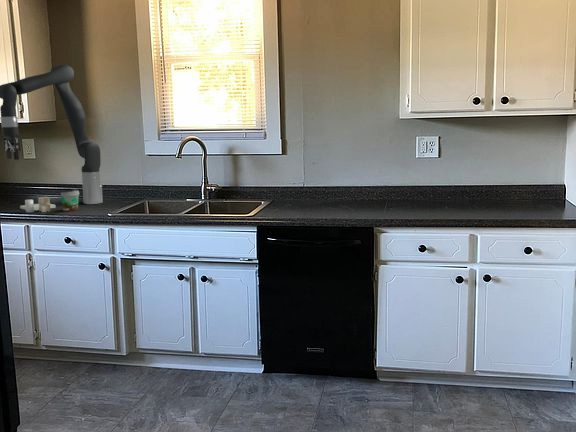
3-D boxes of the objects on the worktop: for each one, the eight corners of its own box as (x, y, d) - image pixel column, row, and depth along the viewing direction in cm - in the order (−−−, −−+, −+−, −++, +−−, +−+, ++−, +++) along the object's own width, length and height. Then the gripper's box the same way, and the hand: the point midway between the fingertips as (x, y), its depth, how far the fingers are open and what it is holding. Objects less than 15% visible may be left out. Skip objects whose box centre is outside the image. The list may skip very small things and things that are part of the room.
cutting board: (45, 205, 355) (45, 202, 355) (55, 207, 348) (55, 204, 347) (20, 208, 345) (20, 205, 345) (29, 210, 338) (29, 208, 337)
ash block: (46, 210, 339) (45, 196, 338) (50, 211, 337) (49, 197, 336) (39, 211, 337) (38, 197, 335) (42, 212, 334) (41, 198, 333)
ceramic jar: (31, 210, 338) (31, 199, 337) (35, 211, 335) (34, 200, 334) (24, 211, 335) (23, 200, 334) (27, 212, 332) (26, 200, 331)
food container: (72, 212, 332) (71, 192, 330) (61, 212, 333) (60, 192, 331) (85, 208, 344) (84, 189, 342) (74, 208, 345) (73, 189, 343)
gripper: (23, 126, 322) (26, 159, 325) (11, 125, 332) (14, 157, 335) (8, 126, 317) (11, 160, 320) (-4, 126, 326) (-1, 159, 329)
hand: (12, 159), depth 327 cm, fingers open, 8 cm apart
